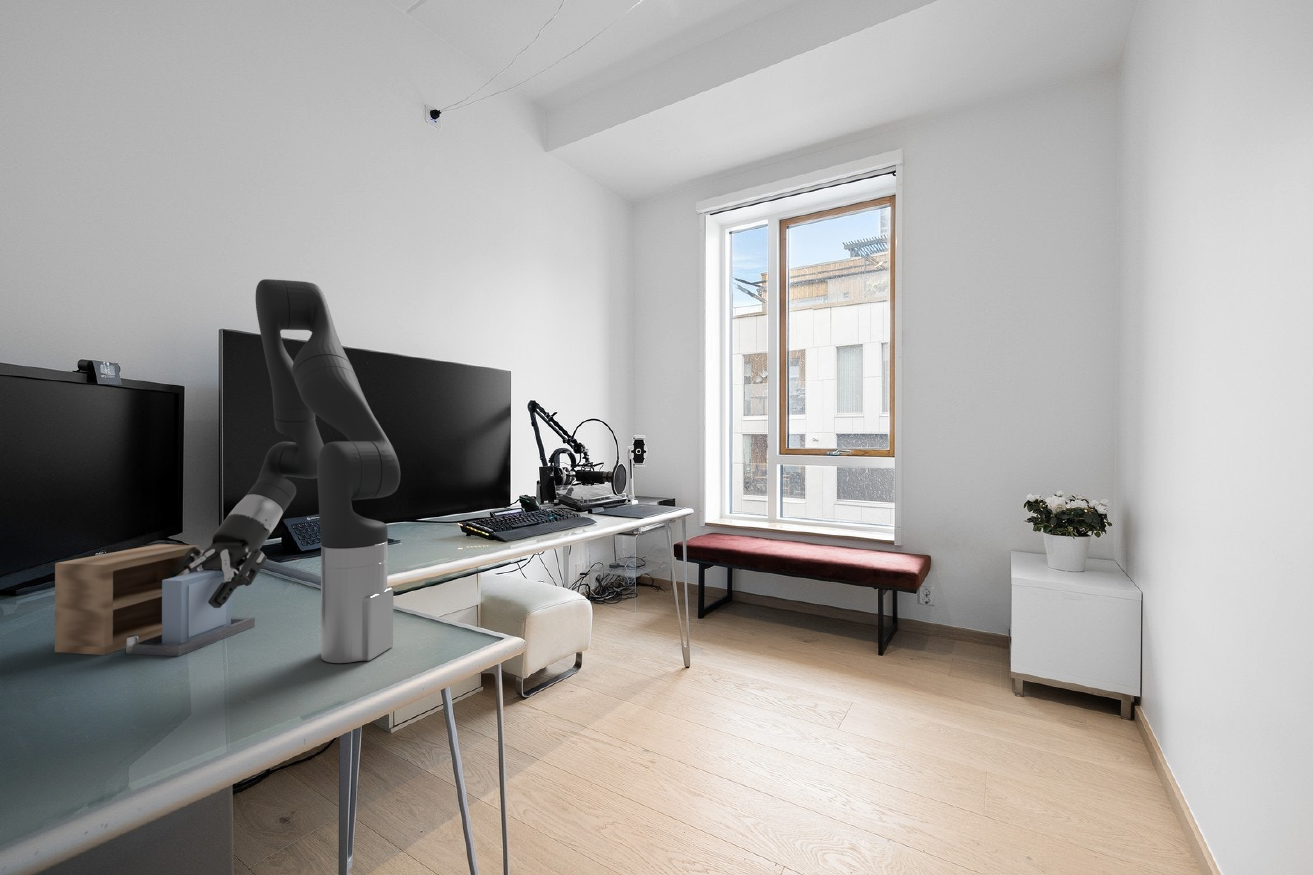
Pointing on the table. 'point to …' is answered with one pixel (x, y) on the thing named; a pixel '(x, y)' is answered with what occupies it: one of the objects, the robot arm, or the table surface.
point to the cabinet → (112, 598)
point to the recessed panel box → (192, 606)
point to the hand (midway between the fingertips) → (190, 604)
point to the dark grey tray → (167, 649)
